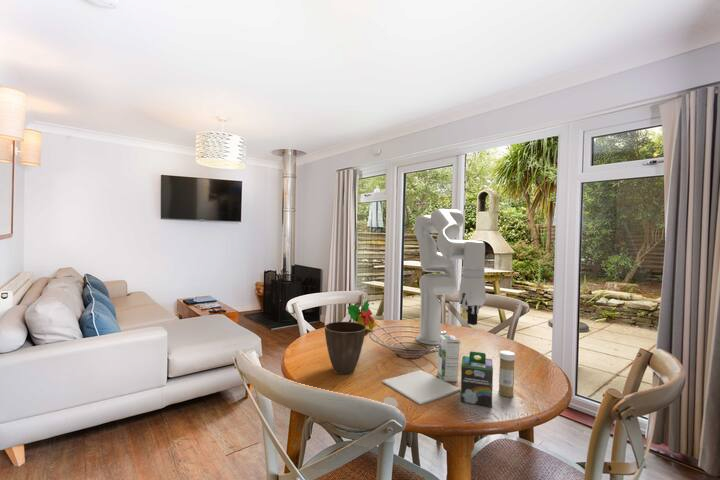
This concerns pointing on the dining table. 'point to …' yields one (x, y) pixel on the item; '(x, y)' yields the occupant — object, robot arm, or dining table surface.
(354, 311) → the ornament
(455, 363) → the syrup box
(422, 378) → the mat
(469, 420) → the dining table surface
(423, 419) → the dining table surface
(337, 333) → the plant pot
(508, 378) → the sprinkles bottle
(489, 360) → the chalk box
